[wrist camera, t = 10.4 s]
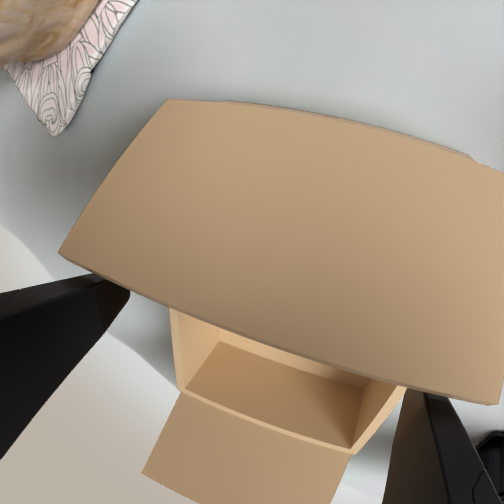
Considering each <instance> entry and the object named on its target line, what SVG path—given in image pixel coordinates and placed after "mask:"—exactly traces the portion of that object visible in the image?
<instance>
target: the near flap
mask: <svg viewBox="0 0 504 504" xmlns="http://www.w3.org/2000/svg"><path fill="white" fill-rule="evenodd" d="M58 253H59V254H60V255H61V256H62V257H64V258H65V259H66V260H68V261H70V262H72V263H74V264H76V265H78V266H80V267H82V268H84V269H86V270H88V271H90V272H92V273H94V274H96V275H98V276H100V277H102V278H105V279H107V280H109V281H111V282H113V283H115V284H117V285H120V286H122V287H124V288H126V289H128V290H131V291H133V292H135V293H137V294H139V295H142V296H144V297H146V298H149V299H151V300H153V301H155V302H158V303H160V304H162V305H165V306H167V307H169V308H172V309H174V310H177V311H179V312H181V313H184V314H186V315H189V316H191V317H194V318H196V319H199V320H201V321H204V322H206V323H209V324H211V325H214V326H216V327H219V328H222V329H224V330H227V331H229V332H232V333H235V334H237V335H240V336H243V337H246V338H248V339H251V340H254V341H257V342H259V343H262V344H265V345H268V346H271V347H273V348H276V349H279V350H282V351H285V352H288V353H291V354H294V355H297V356H300V357H303V358H306V359H309V360H312V361H315V362H319V363H322V364H325V365H328V366H331V367H335V368H338V369H341V370H344V371H348V372H351V373H355V374H358V375H362V376H365V377H369V378H372V379H376V380H379V381H383V382H387V383H390V384H394V385H398V386H402V387H406V388H410V389H414V390H418V391H422V392H426V393H430V394H435V395H439V396H443V397H448V398H453V399H457V400H462V401H467V402H472V403H477V404H482V405H487V406H489V405H496V404H499V400H500V395H501V390H502V385H503V380H504V173H502V172H500V171H497V170H495V169H492V168H490V167H488V166H485V165H483V164H480V163H477V162H475V161H472V160H470V159H467V158H464V157H461V156H459V155H456V154H453V153H450V152H447V151H444V150H441V149H439V148H435V147H432V146H429V145H426V144H423V143H420V142H417V141H413V140H410V139H407V138H403V137H400V136H396V135H393V134H389V133H385V132H381V131H378V130H374V129H370V128H366V127H362V126H357V125H353V124H349V123H344V122H340V121H335V120H330V119H326V118H321V117H315V116H310V115H305V114H299V113H293V112H287V111H281V110H275V109H268V108H261V107H253V106H245V105H237V104H227V103H217V102H206V101H192V100H175V99H167V100H166V101H165V103H164V104H163V105H162V106H161V107H160V108H159V109H158V111H157V112H156V113H155V114H154V115H153V117H152V118H151V119H150V120H149V121H148V123H147V124H146V125H145V126H144V127H143V129H142V130H141V131H140V132H139V134H138V135H137V136H136V137H135V139H134V140H133V141H132V143H131V144H130V145H129V146H128V148H127V149H126V150H125V152H124V153H123V154H122V156H121V157H120V158H119V160H118V161H117V162H116V164H115V165H114V166H113V168H112V169H111V171H110V172H109V173H108V175H107V176H106V178H105V179H104V180H103V182H102V183H101V185H100V186H99V188H98V189H97V191H96V192H95V193H94V195H93V196H92V198H91V199H90V201H89V202H88V204H87V206H86V207H85V209H84V210H83V212H82V213H81V215H80V216H79V218H78V220H77V221H76V223H75V224H74V226H73V228H72V229H71V231H70V233H69V234H68V236H67V238H66V239H65V241H64V243H63V245H62V246H61V248H60V250H59V251H58Z"/></svg>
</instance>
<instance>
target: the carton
mask: <svg viewBox="0 0 504 504" xmlns="http://www.w3.org/2000/svg"><path fill="white" fill-rule="evenodd" d="M217 103H227V104H237V105H245V106H253V107H261V108H268V109H275V110H281V111H287V112H293V113H299V114H305V115H310V116H315V117H321V118H326V119H330V120H335V121H340V122H344V123H349V124H353V125H357V126H362V127H366V128H370V129H374V130H378V131H381V132H385V133H389V134H393V135H396V136H400V137H403V138H407V139H410V140H413V141H417V142H420V143H423V144H426V145H429V146H432V147H435V148H439V149H441V150H444V151H447V152H450V153H453V154H456V155H459V156H461V157H464V158H467V159H470V160H472V161H475V160H474V159H473V158H471V157H470V156H469V155H466V154H464V153H461V152H458V151H455V150H452V149H450V148H447V147H444V146H441V145H438V144H435V143H432V142H429V141H425V140H422V139H419V138H416V137H412V136H409V135H406V134H402V133H399V132H395V131H392V130H388V129H384V128H380V127H376V126H373V125H369V124H364V123H360V122H356V121H352V120H347V119H343V118H338V117H333V116H329V115H324V114H318V113H313V112H308V111H302V110H296V109H290V108H284V107H277V106H271V105H263V104H256V103H248V102H239V101H221V102H217ZM475 162H476V161H475ZM477 163H478V162H477ZM169 314H170V326H171V337H172V347H173V356H174V365H175V373H176V381H177V389H178V390H179V391H181V392H183V393H185V394H187V395H189V396H192V397H194V398H196V399H198V400H200V401H202V402H205V403H207V404H209V405H211V406H214V407H216V408H218V409H221V410H223V411H225V412H228V413H230V414H232V415H235V416H237V417H240V418H242V419H245V420H247V421H250V422H253V423H255V424H258V425H260V426H263V427H266V428H269V429H271V430H274V431H277V432H280V433H283V434H286V435H289V436H292V437H295V438H298V439H301V440H304V441H307V442H310V443H313V444H317V445H320V446H324V447H327V448H331V449H334V450H338V451H341V452H345V453H349V454H353V455H356V454H357V453H358V452H359V451H360V449H361V448H362V447H363V446H364V445H365V444H366V442H367V441H368V440H369V439H370V438H371V436H372V435H373V434H374V433H375V432H376V430H377V429H378V428H379V427H380V425H381V424H382V423H383V422H384V420H385V419H386V418H387V416H388V415H389V414H390V413H391V411H392V410H393V409H394V407H395V406H396V405H397V403H398V402H399V400H400V399H401V398H402V396H403V395H404V393H405V391H406V389H407V388H406V387H402V386H398V385H394V384H390V383H387V382H383V381H379V380H376V379H372V378H369V377H365V376H362V375H358V374H355V373H351V372H348V371H344V370H341V369H338V368H335V367H331V366H328V365H325V364H322V363H319V362H315V361H312V360H309V359H306V358H303V357H300V356H297V355H294V354H291V353H288V352H285V351H282V350H279V349H276V348H273V347H271V346H268V345H265V344H262V343H259V342H257V341H254V340H251V339H248V338H246V337H243V336H240V335H237V334H235V333H232V332H229V331H227V330H224V329H222V328H219V327H216V326H214V325H211V324H209V323H206V322H204V321H201V320H199V319H196V318H194V317H191V316H189V315H186V314H184V313H181V312H179V311H177V310H174V309H172V308H169Z"/></svg>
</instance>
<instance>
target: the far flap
mask: <svg viewBox="0 0 504 504" xmlns="http://www.w3.org/2000/svg"><path fill="white" fill-rule="evenodd" d="M350 456H351V454H349V453H345V452H341V451H338V450H334V449H331V448H327V447H324V446H320V445H317V444H313V443H310V442H307V441H304V440H301V439H298V438H295V437H292V436H289V435H286V434H283V433H280V432H277V431H274V430H271V429H269V428H266V427H263V426H260V425H258V424H255V423H253V422H250V421H247V420H245V419H242V418H240V417H237V416H235V415H232V414H230V413H228V412H225V411H223V410H221V409H218V408H216V407H214V406H211V405H209V404H207V403H205V402H202V401H200V400H198V399H196V398H194V397H192V396H189V395H187V394H185V393H183V392H181V393H180V395H179V397H178V399H177V401H176V403H175V405H174V407H173V409H172V412H171V413H170V416H169V418H168V420H167V422H166V424H165V426H164V428H163V430H162V432H161V434H160V436H159V438H158V440H157V442H156V444H155V446H154V448H153V450H152V452H151V454H150V456H149V459H148V461H147V463H146V465H145V467H144V469H143V471H142V473H143V474H144V475H146V476H147V477H149V478H151V479H153V480H155V481H157V482H158V483H160V484H162V485H164V486H165V487H167V488H169V489H171V490H173V491H175V492H177V493H179V494H181V495H183V496H185V497H187V498H189V499H191V500H193V501H195V502H197V503H199V504H330V503H331V501H332V499H333V497H334V494H335V492H336V490H337V488H338V485H339V483H340V481H341V478H342V476H343V474H344V471H345V469H346V466H347V464H348V461H349V459H350Z"/></svg>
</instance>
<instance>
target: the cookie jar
mask: <svg viewBox="0 0 504 504" xmlns="http://www.w3.org/2000/svg"><path fill="white" fill-rule="evenodd" d="M136 2H137V0H0V68H2V67H3V68H4V69H5V70H6V71H7V72H8V73H9V75H10V77H11V78H13V80H15V83H16V85H17V88H18V90H19V91H21V95H22V97H23V98H24V99H25V100H26V102H27V104H28V105H29V107H30V108H31V109H32V110H34V111H35V112H36V114H37V119H38V120H39V121H41V122H42V123H43V125H44V126H46V127H47V129H48V131H49V132H50V133H51V135H52V137H56V136H58V135H59V134H60V133H61V132H62V131H63V130H64V129H65V128H66V126H67V125H68V124H69V123H70V121H71V120H72V118H73V116H74V115H75V113H76V111H77V109H78V107H79V105H80V103H81V101H82V99H83V97H84V94H85V91H86V88H87V86H88V83H89V80H90V78H91V75H92V73H93V70H94V68H95V67H96V65H97V64H98V62H99V61H100V59H101V57H102V56H103V54H104V53H105V51H106V50H107V49H108V47H109V45H110V43H111V42H112V40H113V38H114V36H115V35H116V33H117V31H118V30H119V28H120V26H121V25H122V23H123V21H124V20H125V18H126V17H127V15H128V13H129V12H130V10H131V9H132V7H133V6H134V5H135V3H136Z"/></svg>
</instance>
